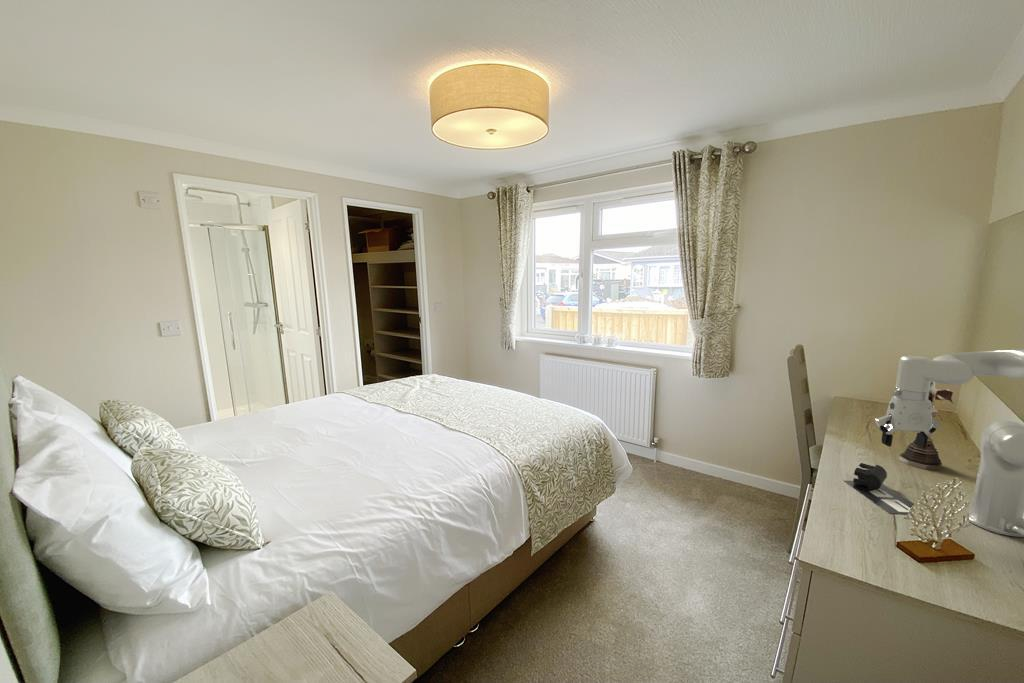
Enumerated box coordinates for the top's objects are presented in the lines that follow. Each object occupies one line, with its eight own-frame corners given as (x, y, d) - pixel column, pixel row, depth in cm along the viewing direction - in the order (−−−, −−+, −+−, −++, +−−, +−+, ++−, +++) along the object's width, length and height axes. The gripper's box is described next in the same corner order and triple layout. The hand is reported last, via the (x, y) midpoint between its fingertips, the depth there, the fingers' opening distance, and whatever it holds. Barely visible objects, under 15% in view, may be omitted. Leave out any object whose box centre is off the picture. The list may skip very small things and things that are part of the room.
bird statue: (899, 449, 166) (911, 369, 160) (944, 460, 156) (959, 375, 150) (890, 460, 156) (903, 376, 150) (938, 473, 146) (954, 382, 140)
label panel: (932, 515, 121) (932, 515, 121) (889, 513, 122) (889, 513, 122) (879, 482, 140) (879, 481, 140) (843, 480, 142) (843, 480, 142)
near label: (916, 513, 122) (916, 512, 122) (899, 512, 123) (899, 511, 123) (897, 500, 129) (897, 499, 129) (880, 499, 130) (880, 499, 130)
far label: (893, 497, 130) (893, 497, 130) (877, 497, 131) (877, 496, 131) (869, 482, 140) (870, 481, 140) (854, 481, 141) (854, 481, 141)
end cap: (879, 495, 132) (881, 476, 131) (852, 486, 137) (854, 468, 136) (885, 485, 138) (888, 467, 137) (859, 477, 143) (861, 460, 142)
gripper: (889, 397, 121) (881, 449, 124) (954, 399, 118) (945, 452, 121) (871, 390, 128) (864, 439, 131) (932, 392, 125) (924, 442, 128)
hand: (903, 445), depth 126 cm, fingers open, 9 cm apart
